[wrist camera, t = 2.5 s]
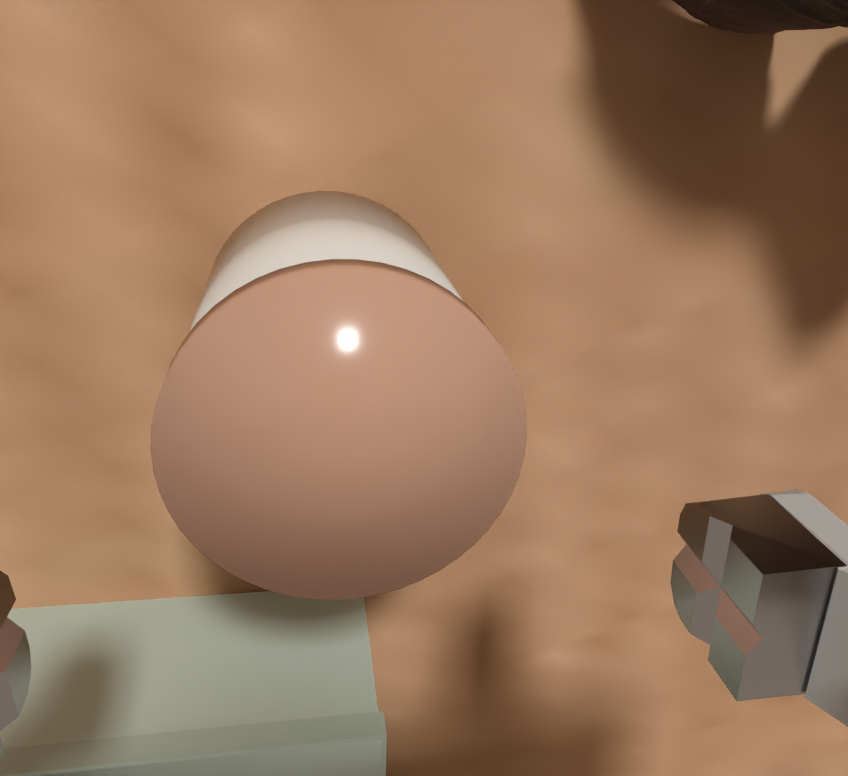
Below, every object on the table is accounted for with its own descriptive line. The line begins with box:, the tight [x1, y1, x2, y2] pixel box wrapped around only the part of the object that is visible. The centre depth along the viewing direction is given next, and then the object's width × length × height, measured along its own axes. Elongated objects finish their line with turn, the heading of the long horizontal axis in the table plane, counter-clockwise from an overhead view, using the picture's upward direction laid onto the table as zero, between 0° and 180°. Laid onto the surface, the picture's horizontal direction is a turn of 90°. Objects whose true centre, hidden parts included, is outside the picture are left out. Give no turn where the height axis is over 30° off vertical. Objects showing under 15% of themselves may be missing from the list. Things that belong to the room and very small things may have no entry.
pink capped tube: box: [151, 191, 527, 600], centre depth 13 cm, size 5×5×6 cm
